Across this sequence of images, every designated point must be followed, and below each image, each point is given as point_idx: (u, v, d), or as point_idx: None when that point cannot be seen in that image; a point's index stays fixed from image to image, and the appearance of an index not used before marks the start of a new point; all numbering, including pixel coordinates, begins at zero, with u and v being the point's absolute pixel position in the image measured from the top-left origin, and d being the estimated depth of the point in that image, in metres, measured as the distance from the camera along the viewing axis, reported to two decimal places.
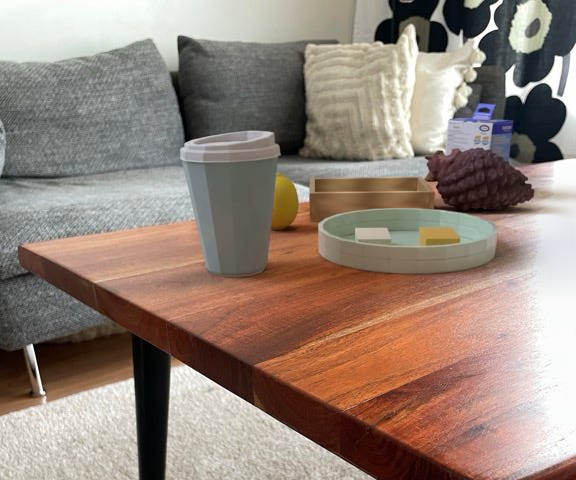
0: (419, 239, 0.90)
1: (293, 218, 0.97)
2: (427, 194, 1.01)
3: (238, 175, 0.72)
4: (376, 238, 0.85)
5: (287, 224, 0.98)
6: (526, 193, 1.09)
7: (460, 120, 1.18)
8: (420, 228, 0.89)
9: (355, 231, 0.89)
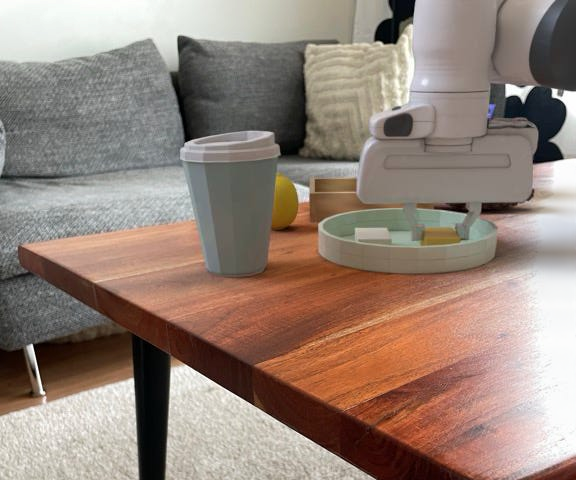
0: None
1: (293, 218, 0.97)
2: None
3: (238, 175, 0.72)
4: (376, 238, 0.85)
5: (287, 224, 0.98)
6: None
7: None
8: None
9: (355, 231, 0.89)
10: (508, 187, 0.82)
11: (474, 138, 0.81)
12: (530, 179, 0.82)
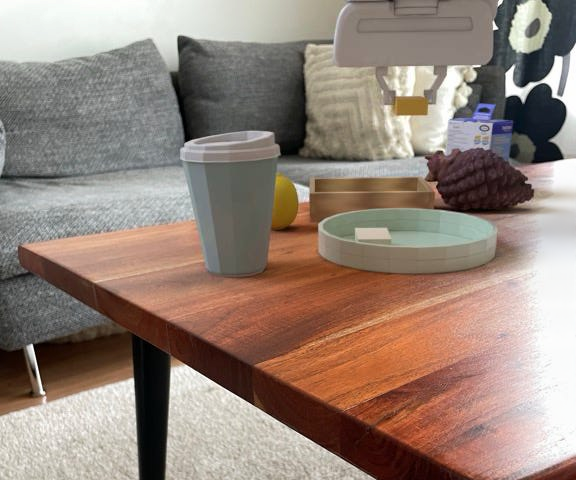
0: (391, 107, 0.97)
1: (293, 218, 0.97)
2: (427, 194, 1.01)
3: (238, 175, 0.72)
4: (376, 238, 0.85)
5: (287, 224, 0.98)
6: (526, 193, 1.09)
7: (460, 120, 1.18)
8: None
9: (355, 231, 0.89)
10: (471, 49, 0.90)
11: (439, 2, 0.88)
12: (491, 42, 0.90)
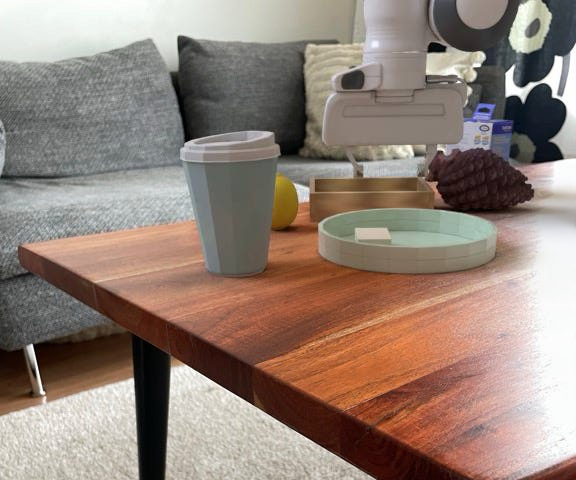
0: None
1: (293, 218, 0.97)
2: (427, 194, 1.01)
3: (238, 175, 0.72)
4: (376, 238, 0.85)
5: (287, 224, 0.98)
6: (526, 193, 1.09)
7: None
8: None
9: (355, 231, 0.89)
10: (444, 131, 1.02)
11: (415, 91, 1.00)
12: (461, 125, 1.01)
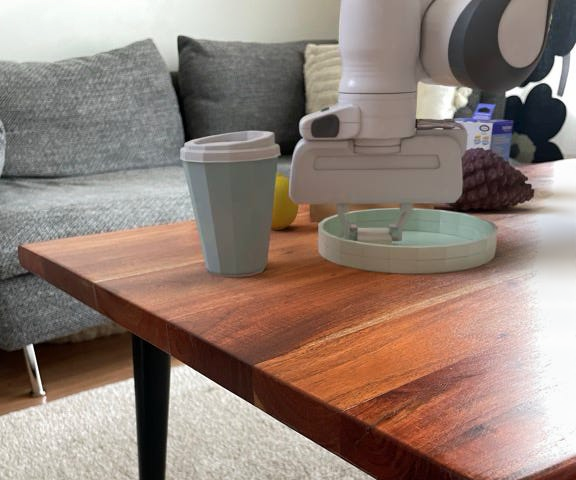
0: None
1: (293, 218, 0.97)
2: None
3: (238, 175, 0.72)
4: (376, 238, 0.85)
5: (287, 224, 0.98)
6: (526, 193, 1.09)
7: (460, 120, 1.18)
8: None
9: None
10: (438, 188, 0.83)
11: (402, 139, 0.81)
12: (460, 180, 0.82)
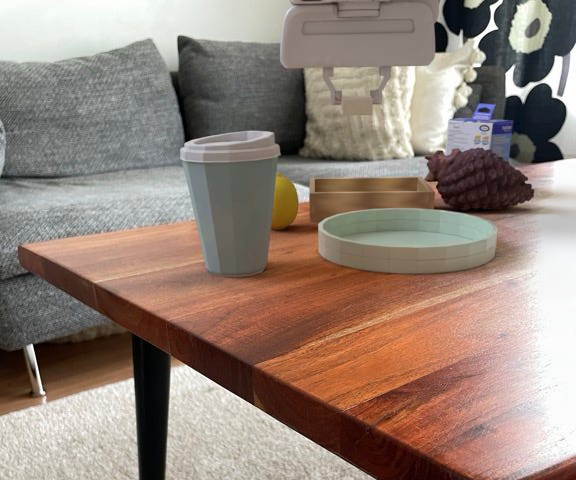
0: None
1: (293, 218, 0.97)
2: (427, 194, 1.01)
3: (238, 175, 0.72)
4: (359, 98, 0.94)
5: (287, 224, 0.98)
6: (526, 193, 1.09)
7: (460, 120, 1.18)
8: None
9: None
10: (414, 51, 0.93)
11: (381, 4, 0.91)
12: (432, 43, 0.92)
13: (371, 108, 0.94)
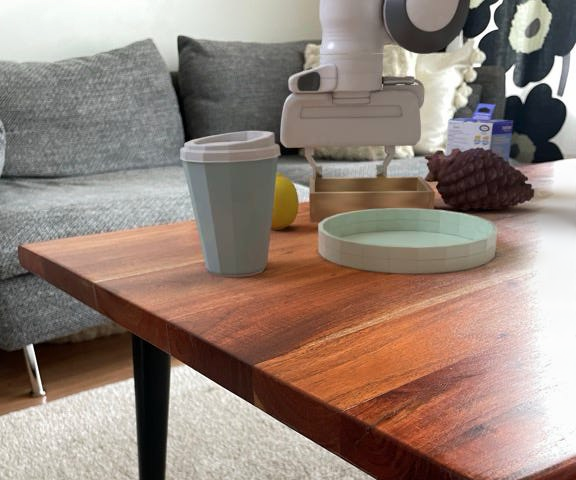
0: None
1: (293, 218, 0.97)
2: (427, 194, 1.01)
3: (238, 175, 0.72)
4: None
5: (287, 224, 0.98)
6: (526, 193, 1.09)
7: (460, 120, 1.18)
8: None
9: None
10: (401, 133, 1.02)
11: (371, 92, 1.00)
12: (418, 126, 1.02)
13: None
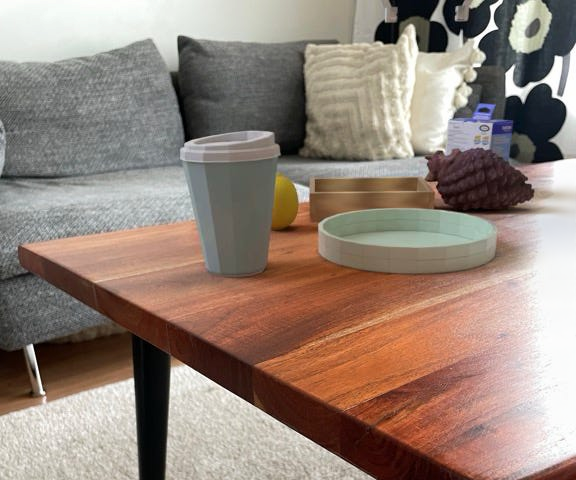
0: None
1: (293, 218, 0.97)
2: (427, 194, 1.01)
3: (238, 175, 0.72)
4: None
5: (287, 224, 0.98)
6: (526, 193, 1.09)
7: (460, 120, 1.18)
8: None
9: None
10: None
11: None
12: None
13: None
